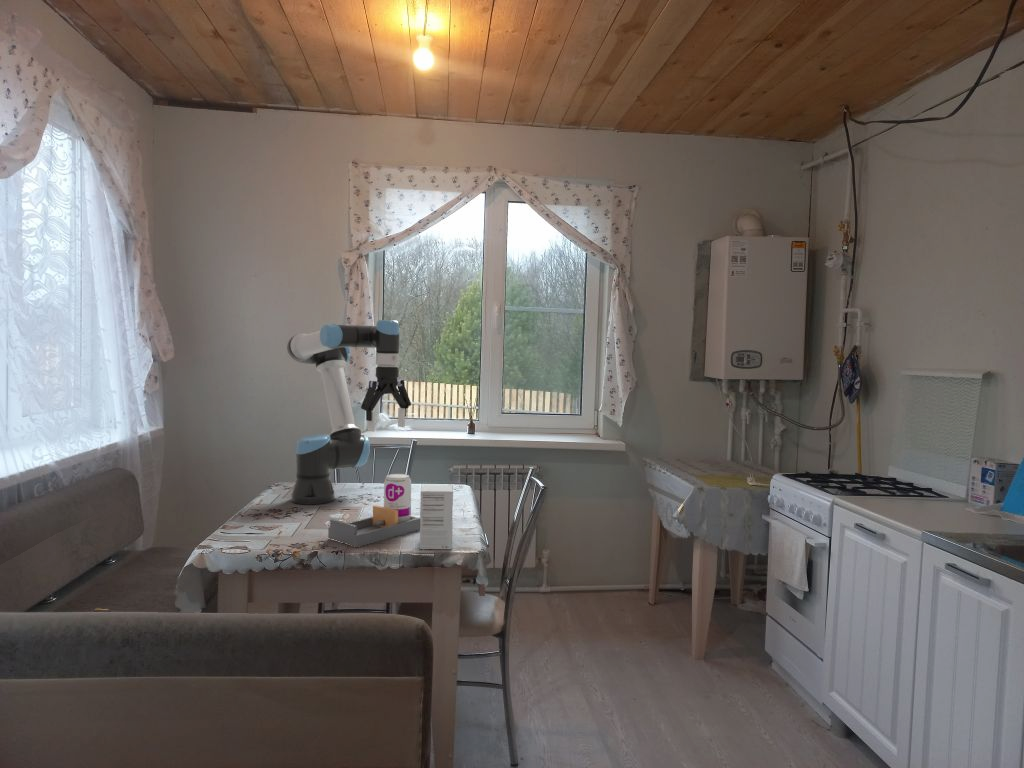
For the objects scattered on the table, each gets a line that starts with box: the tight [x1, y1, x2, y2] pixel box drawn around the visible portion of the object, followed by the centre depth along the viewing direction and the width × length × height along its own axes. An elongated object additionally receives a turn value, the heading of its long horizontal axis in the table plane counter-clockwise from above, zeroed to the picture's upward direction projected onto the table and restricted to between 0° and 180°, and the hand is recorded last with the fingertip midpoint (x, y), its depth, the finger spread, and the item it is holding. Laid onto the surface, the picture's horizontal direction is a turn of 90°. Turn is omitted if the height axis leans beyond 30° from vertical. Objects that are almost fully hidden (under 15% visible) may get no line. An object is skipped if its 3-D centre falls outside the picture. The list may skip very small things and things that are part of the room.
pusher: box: [372, 504, 398, 528], centre depth 207 cm, size 10×4×6 cm, turn 53°
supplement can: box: [383, 473, 412, 523], centre depth 212 cm, size 8×8×15 cm
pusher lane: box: [327, 515, 420, 548], centre depth 206 cm, size 12×26×6 cm, turn 143°
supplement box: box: [419, 483, 454, 550], centre depth 196 cm, size 10×9×17 cm
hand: (386, 428), depth 231 cm, fingers open, 13 cm apart
